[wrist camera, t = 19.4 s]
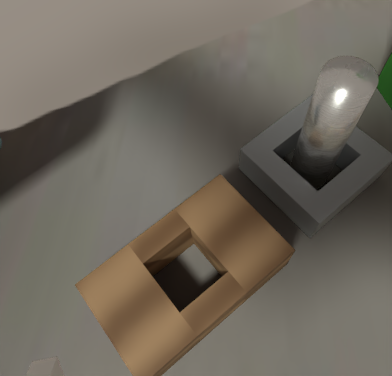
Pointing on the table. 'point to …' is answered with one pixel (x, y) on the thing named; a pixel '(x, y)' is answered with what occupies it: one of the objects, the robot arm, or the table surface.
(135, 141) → the table surface
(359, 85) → the translucent white cylinder
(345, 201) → the socket
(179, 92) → the table surface
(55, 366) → the robot arm
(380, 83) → the hardback book
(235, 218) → the tan hollow box
